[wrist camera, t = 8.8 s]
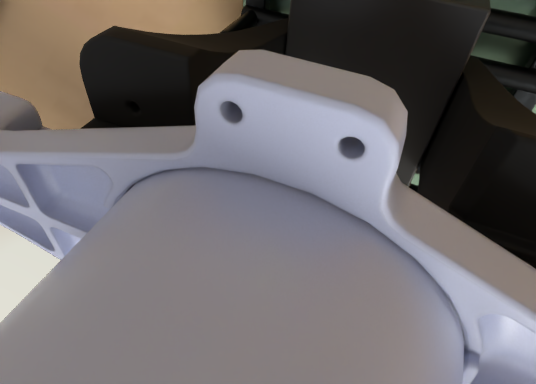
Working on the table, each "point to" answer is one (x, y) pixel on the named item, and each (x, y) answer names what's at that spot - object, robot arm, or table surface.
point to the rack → (486, 50)
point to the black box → (394, 52)
